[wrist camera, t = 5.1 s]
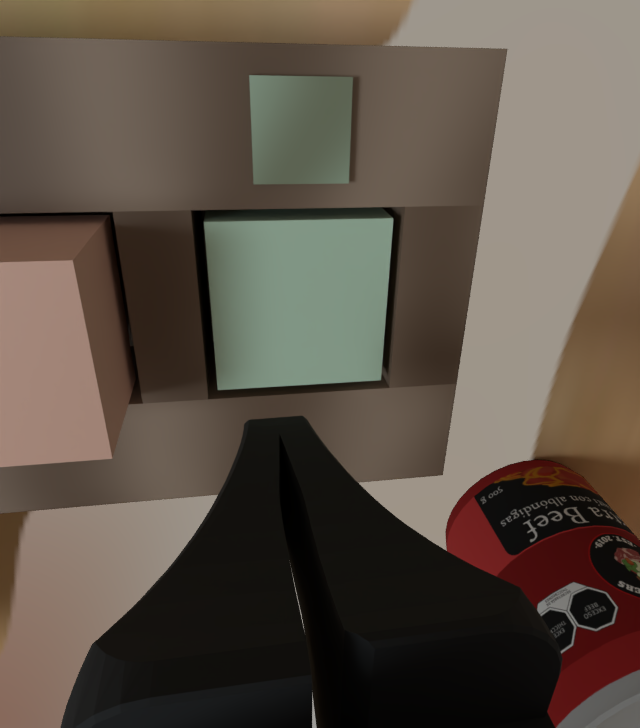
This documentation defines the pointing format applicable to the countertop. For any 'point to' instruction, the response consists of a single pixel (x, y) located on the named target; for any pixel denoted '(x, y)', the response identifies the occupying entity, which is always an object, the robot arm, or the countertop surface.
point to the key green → (298, 294)
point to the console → (252, 191)
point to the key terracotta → (61, 341)
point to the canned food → (563, 580)
